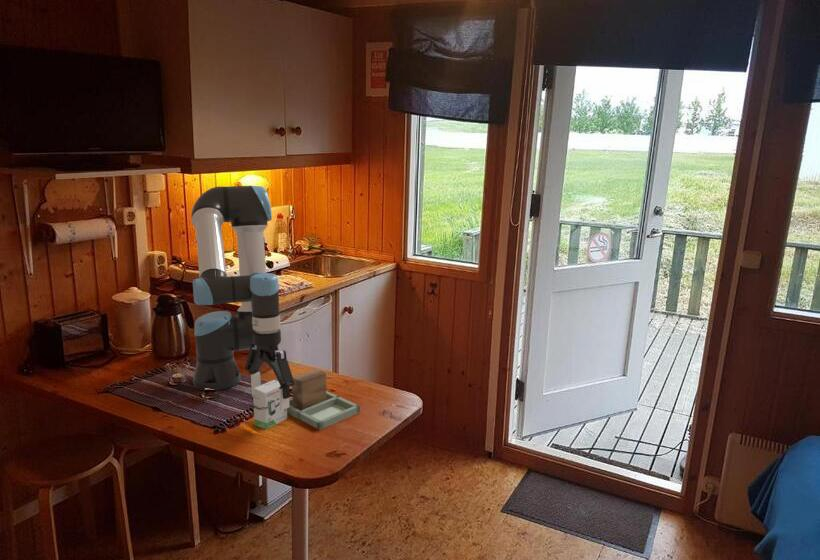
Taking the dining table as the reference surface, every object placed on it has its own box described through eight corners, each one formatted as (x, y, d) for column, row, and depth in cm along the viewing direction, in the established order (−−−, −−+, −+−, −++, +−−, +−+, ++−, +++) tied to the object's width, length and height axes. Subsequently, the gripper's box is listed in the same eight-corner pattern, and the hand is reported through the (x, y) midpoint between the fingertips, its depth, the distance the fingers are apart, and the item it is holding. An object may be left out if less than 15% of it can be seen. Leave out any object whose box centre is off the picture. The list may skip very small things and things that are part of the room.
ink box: (266, 432, 168) (264, 393, 165) (253, 427, 171) (251, 389, 168) (288, 420, 175) (286, 382, 172) (276, 416, 178) (274, 378, 175)
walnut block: (292, 408, 181) (291, 377, 179) (316, 398, 187) (315, 368, 185) (303, 413, 178) (302, 381, 175) (326, 403, 184) (325, 373, 182)
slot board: (279, 411, 181) (278, 402, 180) (318, 395, 192) (318, 387, 191) (320, 432, 168) (319, 423, 167) (360, 414, 179) (359, 405, 178)
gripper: (230, 323, 171) (234, 393, 176) (282, 342, 155) (285, 419, 160) (252, 318, 177) (256, 385, 182) (305, 336, 160) (308, 410, 165)
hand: (270, 401), depth 171 cm, fingers open, 13 cm apart
